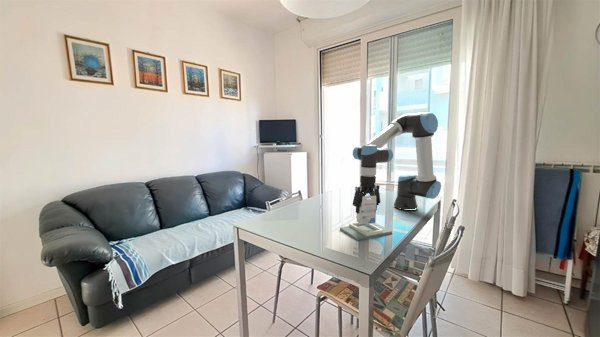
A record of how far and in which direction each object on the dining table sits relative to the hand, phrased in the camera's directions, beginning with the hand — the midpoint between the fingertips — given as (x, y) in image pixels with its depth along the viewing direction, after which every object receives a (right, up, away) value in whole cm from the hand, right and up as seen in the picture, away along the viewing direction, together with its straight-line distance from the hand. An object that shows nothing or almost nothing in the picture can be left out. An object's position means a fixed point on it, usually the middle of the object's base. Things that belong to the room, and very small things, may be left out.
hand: (366, 217), depth 128 cm
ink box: (0, -3, 0) cm, 3 cm away
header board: (0, -7, +1) cm, 8 cm away
